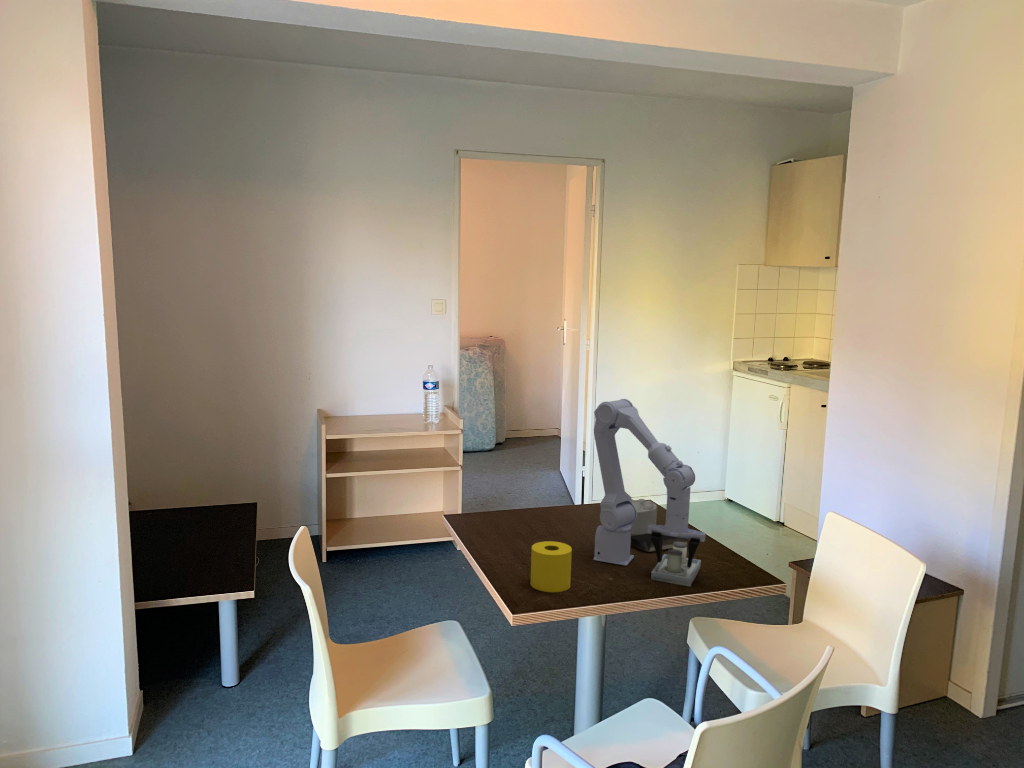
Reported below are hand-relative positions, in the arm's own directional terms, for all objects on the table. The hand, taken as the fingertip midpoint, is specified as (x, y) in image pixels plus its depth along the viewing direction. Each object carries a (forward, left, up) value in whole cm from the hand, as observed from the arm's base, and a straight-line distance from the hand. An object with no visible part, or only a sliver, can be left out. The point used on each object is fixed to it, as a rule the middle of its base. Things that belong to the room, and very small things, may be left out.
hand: (674, 563), depth 195 cm
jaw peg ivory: (0, +7, -3) cm, 7 cm away
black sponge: (-9, +22, -4) cm, 25 cm away
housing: (0, +3, -4) cm, 5 cm away
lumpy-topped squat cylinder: (-19, +37, -4) cm, 41 cm away
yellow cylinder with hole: (-27, -19, -4) cm, 33 cm away
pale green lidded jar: (0, 0, -3) cm, 3 cm away
